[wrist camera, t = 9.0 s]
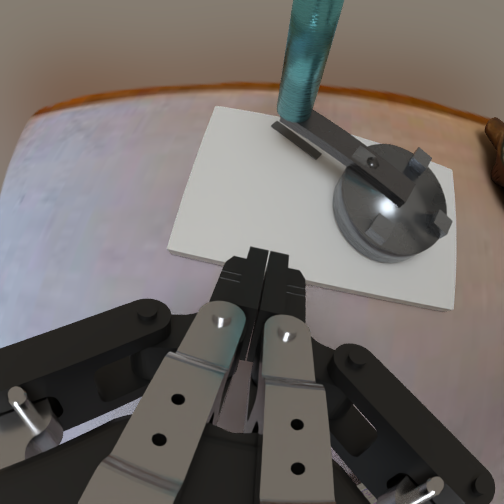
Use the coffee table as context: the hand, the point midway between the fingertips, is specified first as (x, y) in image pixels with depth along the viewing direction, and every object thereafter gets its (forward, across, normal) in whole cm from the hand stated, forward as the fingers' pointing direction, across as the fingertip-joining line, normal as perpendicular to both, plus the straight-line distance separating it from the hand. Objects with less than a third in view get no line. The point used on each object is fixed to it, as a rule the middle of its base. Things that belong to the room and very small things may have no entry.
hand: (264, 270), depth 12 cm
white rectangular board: (+15, -5, +2) cm, 16 cm away
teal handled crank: (+15, -6, -1) cm, 16 cm away
